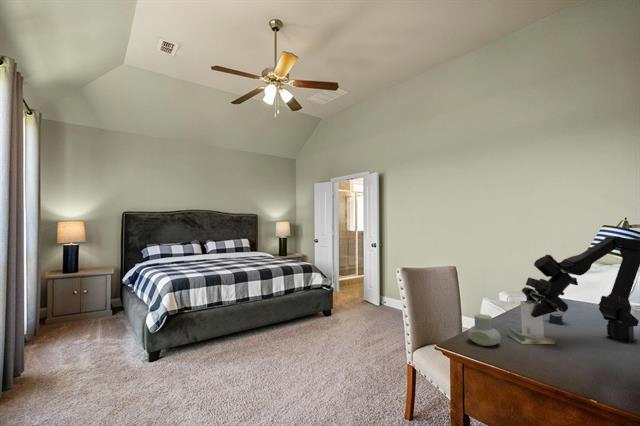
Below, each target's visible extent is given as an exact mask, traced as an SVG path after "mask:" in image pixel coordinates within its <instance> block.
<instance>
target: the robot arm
mask: <svg viewBox="0 0 640 426" xmlns="http://www.w3.org/2000/svg"><path fill="white" fill-rule="evenodd" d="M616 249H619V253H620V256H621V258H622V259H621V262H620V266H619V269H618V271H617V274H616V276H615V280H614V283H613V285H612V288H611V292H610V293H609V294H608V295H602V296H601V297H600V302H599V303H598V306H599V307H598V311H599V312H600V313H601V316H603V320H605V321H607V324H606V333H607V335H606V336H605V337H606V339H611V340H615V341H618V342H622V343H626V344H630V343H634V342H637V341H638V339H636V338H635V329H634V327H638V325H639V322H640V320H638V319H637V317H635V316H634V315H633V314H632V312H631V311H632V305H631V302H630V299H629V297H630V295H631V292H632V289H633V286H634V284H635V280H636V277H637V275H638V271H639V268H640V238H629V237H627V238H626V237H622V236H620V235H619V236H618V235H614V236H613V235H608V236H606V237H604V239H603V240H601V241H599V242H598V243H596V244H595V245H592V246H591V247H589V248H588V249H586V250H585V251H584V252H582V253H580V254H578V255H577V254H576V255H573V256H572V255H571V256H570V257H567V258H565V259H562V261H559V262H558V261H557V260H556V259H555V258H554V257H553V256H552V255H551V254H545V255H544V256H542V257H539V258H538V259H536V260H535V261H534V263H533V266H534V267H535V268H537V271H540V273H541V274H542V275H544V276H545V277H546V278H547V277H548V278H549V279H548V280H547V279H544V278H540V279H536V278H532V277H527V279H526V280H527V281H526V283H525V286H526V287H525V286H524V287H523V288H522V289H521V292H522V293H523V294H524V295H525V297H526V300H525V301H528V300H532V301H535V302H538V303H541V304H540V305H539V307H538V308H537V309H536V311H535V312H534V313H533V315H532V316H533V317H534V318H536V317H539V316H542V315H543V316H544V315H547V314H549V313H555V312H556V313H557V312H559V311H560V312H562V313H566V312H567V311H568V310H569V305H568V304H567V302H565V301H564V300H563V299H562V298H560V296H564V295H566V294H565V292H564V291H565V290H566V289H567V287H569V286H570V285H574V286H579V283H578V278H576V277H573V276H583V275H585V274H586V273H587V272H588V271H590V269H591V267H592V265H593V264H594V263H595V262H597V261H598V260H600V259H602V258H604V257H605V256H607V254H608V255H609V253H611V252H613V251H614V250H616ZM571 275H573V276H571ZM527 286H528V287H527ZM530 287H532V288H530ZM533 288H534V289H533Z"/></svg>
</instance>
